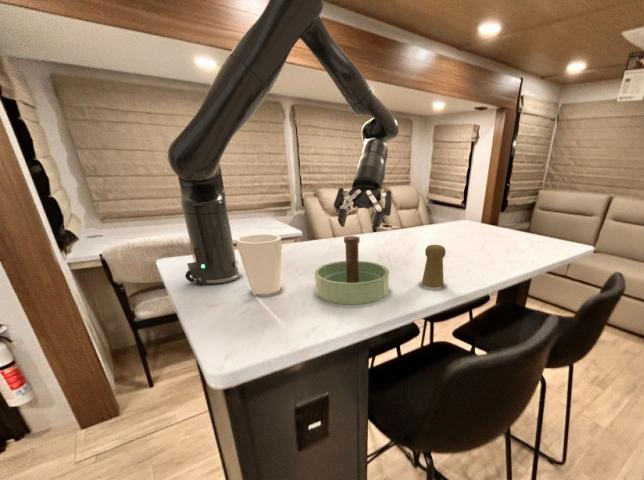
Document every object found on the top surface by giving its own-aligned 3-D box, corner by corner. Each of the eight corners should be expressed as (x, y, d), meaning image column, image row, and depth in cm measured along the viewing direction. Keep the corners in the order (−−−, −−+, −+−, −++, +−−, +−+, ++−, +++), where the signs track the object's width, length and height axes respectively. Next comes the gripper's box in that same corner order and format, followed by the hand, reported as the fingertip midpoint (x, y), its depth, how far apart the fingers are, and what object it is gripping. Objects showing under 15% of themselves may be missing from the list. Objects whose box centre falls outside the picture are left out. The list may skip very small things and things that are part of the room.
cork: (442, 290, 80) (447, 249, 76) (419, 288, 81) (422, 247, 77) (444, 283, 85) (448, 243, 81) (422, 280, 86) (425, 241, 82)
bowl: (339, 313, 65) (338, 289, 63) (304, 288, 78) (302, 267, 75) (402, 295, 76) (403, 274, 74) (363, 276, 88) (363, 257, 86)
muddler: (349, 294, 74) (348, 240, 69) (340, 289, 77) (338, 237, 72) (365, 290, 76) (364, 238, 71) (355, 285, 79) (354, 235, 74)
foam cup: (295, 288, 78) (289, 236, 73) (269, 301, 70) (261, 244, 64) (264, 282, 80) (257, 232, 75) (236, 295, 72) (226, 240, 67)
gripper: (340, 162, 79) (325, 214, 73) (394, 165, 77) (384, 218, 71) (347, 183, 86) (334, 232, 80) (397, 186, 84) (388, 236, 78)
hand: (358, 226), depth 76 cm, fingers open, 8 cm apart
